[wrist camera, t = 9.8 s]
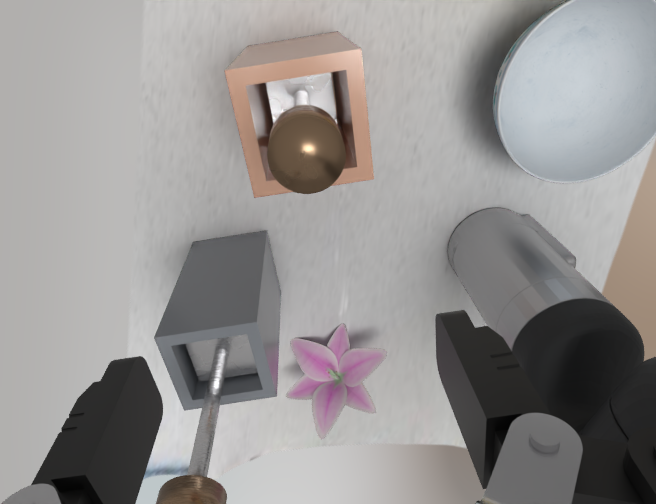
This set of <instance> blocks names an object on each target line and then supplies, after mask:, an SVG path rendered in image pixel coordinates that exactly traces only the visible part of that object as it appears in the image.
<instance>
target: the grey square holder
mask: <svg viewBox="0 0 656 504" xmlns="http://www.w3.org/2000/svg"><path fill="white" fill-rule="evenodd" d="M280 305H281V290H280V285H279V281H278V276H277V272H276V268H275V263H274V259H273V255H272V250H271V246H270V242H269V237H268V233H267V231H260V232H254V233H247V234H241V235H235V236H228V237H222V238H215V239H209V240H203V241H196V242H193V244H192V246H191V249H190V251H189V254H188V256H187V259H186V261H185V263H184V266H183V268H182V271H181V273H180V276H179V278H178V281H177V283H176V285H175V288H174V290H173V293H172V295H171V298H170V300H169V303H168V305H167V308H166V310H165V312H164V315H163V317H162V320H161V322H160V325H159V327H158V330H157V332H156V335H155V337H154V339H155V341H156V344H157V346H158V348H159V351H160V353H161V356H162V358H163V360H164V363H165V365H166V368H167V370H168V373H169V375H170V377H171V380H172V382H173V385H174V387H175V389H176V392H177V394H178V397H179V399H180V401H181V404H182V406H183V409H184V410H191V409H198V408H202V407H203V402H204V398H205V393H206V389H207V384H208V380H207V381H200V382H199V379H198V376H197V374H196V371H195V368H194V366H193V363H192V360H191V358H190V355H189V352H188V350H187V347H186V343H193V342H199V341H206V340H212V339H218V338H225V337H231V336H238V335H244V334H247V336H248V340H249V343H250V347H251V350H252V354H253V357H254V360H255V364H256V367H257V371H258V373H252V374H246V375H239V376H233V377H226V378H225V379H224V384H223V390H222V395H221V401H220V405H224V404H230V403H237V402H243V401H250V400H256V399H263V398H269V397H276V396H277V382H278V356H279V331H280Z"/></svg>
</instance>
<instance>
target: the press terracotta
mask: <svg viewBox="0 0 656 504" xmlns="http://www.w3.org/2000/svg"><path fill="white" fill-rule="evenodd" d="M329 72H331V78H332V86H333V94H334V101H335V109H336V117H337V125H338V128H339V131H340V134H341V136H342V139H343V142H344V145H345V150H346V161H345V166H344V169H343V171H342V173H341V175H340V176H339V178H338V179H337V180H336V181H335V183H333V184H332V185H331V186H333V185H340V184H346V183H352V182H359V181H365V180H372V179H374V174H373V164H372V154H371V143H370V133H369V122H368V112H367V102H366V91H365V81H364V71H363V60H362V50H361V48H360V47H358V46H357V45H356V44H354V43H353V42H352V41H350V40H349V39H347V38H346V37H345V36H343V35H342V34H341V33H339V32H338V31H337V32H331V33H325V34H318V35H312V36H306V37H300V38H293V39H287V40H281V41H275V42H268V43H262V44H256V45H250V46H247V47H246V48H245V49H244V50H243V52H242V53H241V54H240V55H239V56H238V57H237V58H236V59H235V60H234V61H233V62H232V63H231V64H230V65H229V66H228V67H227V68H226V70H225V74H226V79H227V83H228V87H229V92H230V96H231V100H232V104H233V109H234V113H235V117H236V121H237V126H238V130H239V134H240V138H241V143H242V147H243V151H244V155H245V160H246V164H247V168H248V173H249V177H250V181H251V185H252V190H253V194H254V198H257V197H263V196H270V195H276V194H282V193H289V192H293V191H291V190H288V189H287V188H285V187H284V186H282V185H281V184H280V183H279V182H278V181H277V180H276V179H275V178H274V176H273V175H272V173H271V171H270V168H269V165H268V160H267V151H268V144H269V138H270V132H271V128H272V126H273V124H274V123H273V118H272V113H271V108H270V103H269V98H268V92H267V87H266V82H272V81H279V80H285V79H291V78H297V77H304V76H310V75H316V74H323V73H329Z"/></svg>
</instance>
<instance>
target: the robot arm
mask: <svg viewBox="0 0 656 504" xmlns="http://www.w3.org/2000/svg"><path fill="white" fill-rule="evenodd" d="M448 256H449V261H450V263H451V265H452V267H453V269H454V271H455V273H456V275H457V276H458V277H459V279H460V281H461V282H462V284H463V286H464V287H465V289H466V291H467V292H468V294H469V296H470V297H471V299H472V301H473V302H474V304H475V306H476V307H477V309H478V311H479V312H480V314H481V316H482V317H483V319H484V321H485V322H486V324H487V326H484V327H478V328H475V327H474V325H473V324H472V322H471V320H470V318H469V316H468V314H467V313H466V311H464V310H461V311H454V312H447V313H440V314H437V315H436V358H437V366H438V371H439V375H440V378H441V381H442V384H443V386H444V389H445V392H446V394H447V397H448V399H449V402H450V405H451V407H452V410H453V412H454V415H455V418H456V420H457V423H458V425H459V428H460V431H461V433H462V436H463V438H464V441H465V443H466V446H467V449H468V451H469V454H470V456H471V459H472V462H473V464H474V467H475V469H476V472H477V475H478V477H479V480H480V482H481V485H482V487H483V489H486V491H485V494H484V496H483V499H482V500H481V501H477V502H476V503H475V504H656V357H654V358H651V359H648V360H646V361H644V345H643V341H642V338H641V336H640V334H639V332H638V330H637V329H636V328H635V326H634V325H633V324H632V323H631V322H630V321H629V320H628V319H627V318H626V317H625V316H624V315H623V314H622V313H621V312H620V311H619V310H618V309H617V308H616V307H615V306H613V304H612V303H610V302H609V301H608V300H607V299H606V298H605V297H604V296H603V295H602V294H601V293H600V292H599V291H598V290H597V289H596V288H595V287H594V286H592V285H591V284H590V283H589V282H588V281H587V280H586V279H585V278H584V277H583V276H582V275H581V274H580V273H579V272H578V271H577V270H576V269H575V266H576V258H575V256H574V255H573V254H572V253H571V252H570V251H569V250H568V249H567V248H565V247H564V246H563V245H562V244H561V243H560V242H559V241H558V240H557V239H556V238H555V237H553V236H552V235H551V234H550V233H549V232H548V231H547V230H546V229H545V228H544V227H542V226H541V225H540V224H539V223H538V222H537V221H536V220H535V219H534V218H533V217H532V216H530V215H519V214H517V213H515V212H513V211H511V210H508V209H504V208H490V209H485V210H482V211H479V212H476V213H474V214H473V215H471V216H469V217H468V218H466V219H465V220H464V221H463V222H461V224H460V225H459V226H458V227H457V228H456V229H455V231H454V233H453V235H452V236H451V239H450V242H449V246H448ZM162 415H163V404H162V398H161V395H160V393H159V390H158V388H157V386H156V383H155V381H154V379H153V376H152V374H151V372H150V369H149V367H148V365H147V362H146V360H145V359H144V358H143V357H141V356H139V357H132V358H125V359H119V360H114V361H111V363H110V364H109V365H108V368H107V369H106V371H105V373H104V376H103V377H102V379H101V381H99V382H94V383H93V384H92V385H91V386H90V387H89V388H88V389H87V390H86V391H85V392H84V393H83V394H82V395H81V396H80V397H79V398H78V399H77V401H76V403H75V405H74V407H73V408H72V411H71V412H70V414H69V418H67V420H66V421H65V423H64V425H63V427H62V432H60V433H59V434H58V436H57V438H56V440H55V442H54V444H53V446H52V447H51V449H50V451H49V453H48V455H47V457H46V458H45V460H44V462H43V464H42V466H41V468H40V470H39V471H38V473H37V475H36V477H35V479H34V481H33V483H32V484H31V486H28V487H26V488H23V489H21V490H19V491H18V492H16V493H15V494H13V495H11V496H10V497H9V498H8V499H6V500H5V501H4V502H3V503H2V504H135V503H136V500H137V496H138V493H139V490H140V487H141V484H142V480H143V477H144V474H145V471H146V468H147V465H148V461H149V458H150V455H151V452H152V449H153V445H154V442H155V439H156V436H157V433H158V430H159V426H160V423H161V420H162Z"/></svg>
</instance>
